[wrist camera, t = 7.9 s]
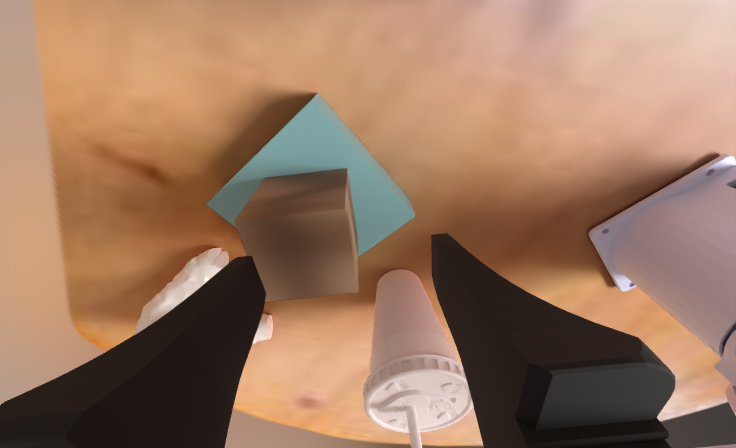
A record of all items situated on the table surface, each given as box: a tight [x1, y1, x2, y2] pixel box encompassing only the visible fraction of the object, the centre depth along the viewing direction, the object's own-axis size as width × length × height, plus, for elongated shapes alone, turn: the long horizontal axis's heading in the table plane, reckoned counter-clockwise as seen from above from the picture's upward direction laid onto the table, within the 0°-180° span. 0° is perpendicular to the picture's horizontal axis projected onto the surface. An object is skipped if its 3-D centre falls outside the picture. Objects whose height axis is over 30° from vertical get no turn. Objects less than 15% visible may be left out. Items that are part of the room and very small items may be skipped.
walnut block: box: [234, 168, 358, 302], centre depth 16 cm, size 5×5×5 cm
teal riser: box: [206, 93, 416, 257], centre depth 19 cm, size 9×9×2 cm
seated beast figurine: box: [135, 248, 273, 344], centre depth 20 cm, size 10×9×12 cm
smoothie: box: [363, 269, 473, 448], centre depth 19 cm, size 6×6×14 cm
